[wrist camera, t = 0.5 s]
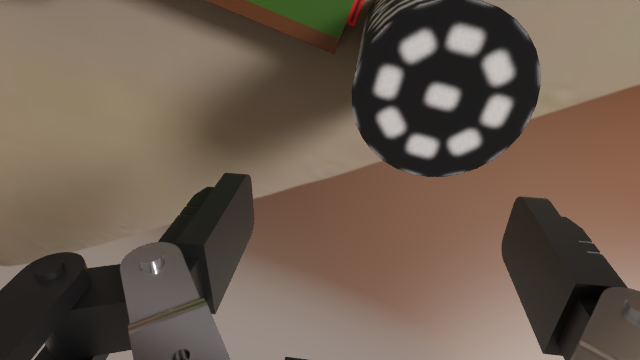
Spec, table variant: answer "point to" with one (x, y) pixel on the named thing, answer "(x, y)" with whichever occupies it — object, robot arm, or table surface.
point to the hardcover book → (300, 17)
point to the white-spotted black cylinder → (443, 84)
